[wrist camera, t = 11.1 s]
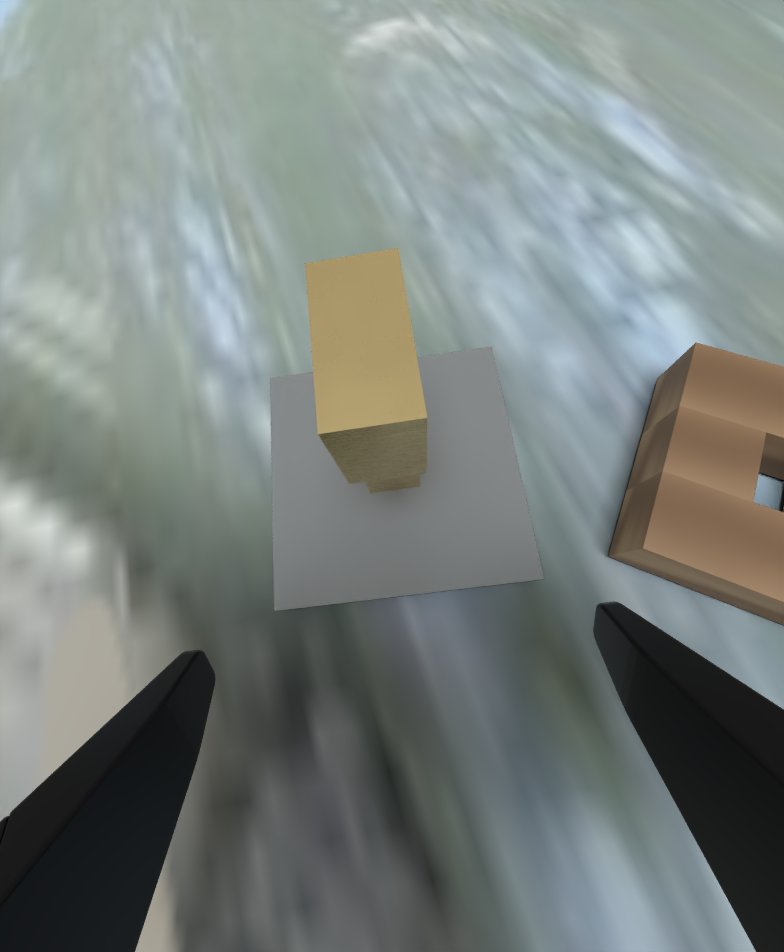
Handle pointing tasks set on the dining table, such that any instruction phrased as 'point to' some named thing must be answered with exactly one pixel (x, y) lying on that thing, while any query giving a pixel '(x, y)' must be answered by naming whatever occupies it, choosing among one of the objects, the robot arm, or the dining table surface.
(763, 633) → the dining table surface
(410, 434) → the t key
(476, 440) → the mat
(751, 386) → the slot block
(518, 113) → the dining table surface
